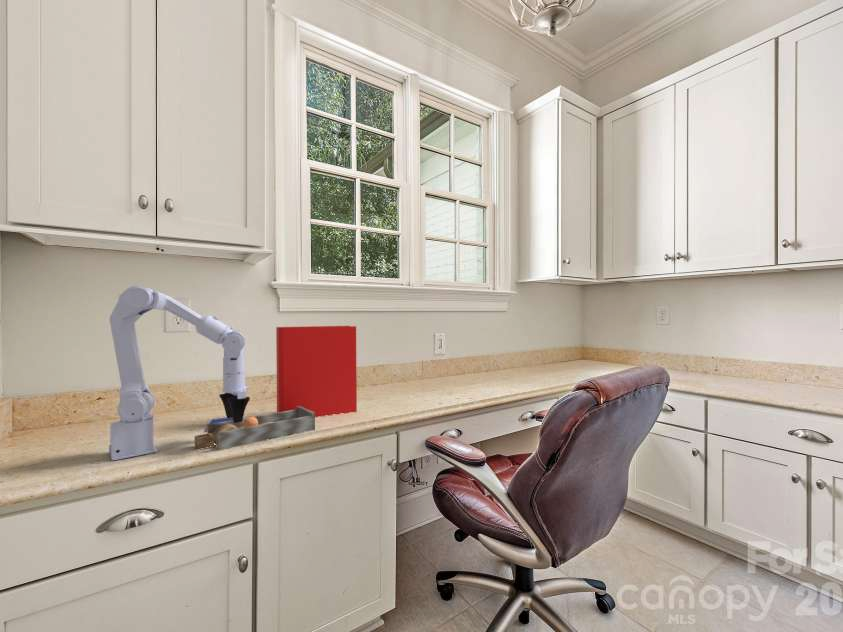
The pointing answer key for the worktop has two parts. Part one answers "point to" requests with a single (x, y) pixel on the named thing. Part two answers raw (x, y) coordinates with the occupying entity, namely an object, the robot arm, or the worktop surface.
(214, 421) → the hard drive
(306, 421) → the lane
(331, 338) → the book
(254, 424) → the ball
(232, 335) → the robot arm
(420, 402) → the worktop surface
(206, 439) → the brown wooden crate
